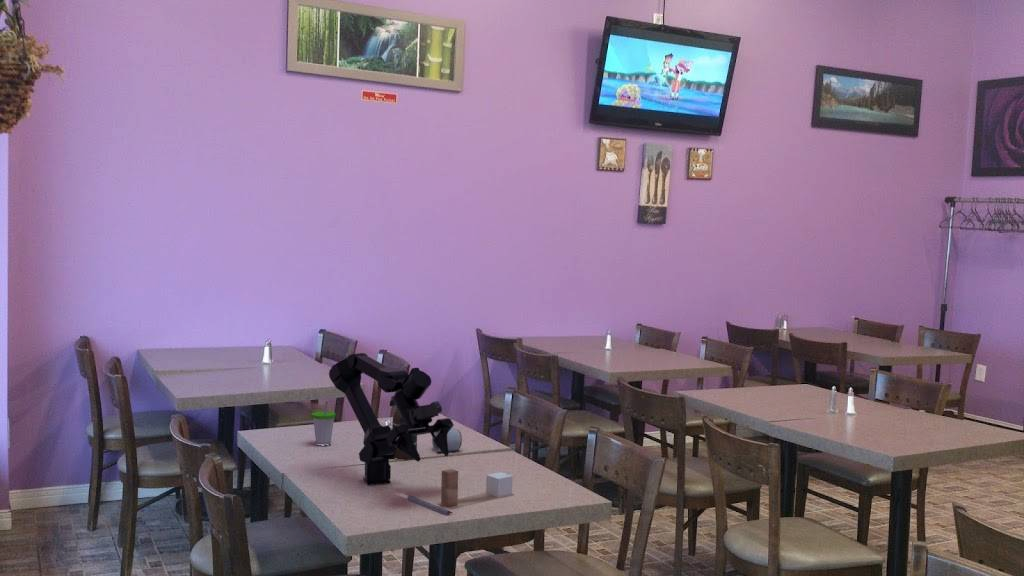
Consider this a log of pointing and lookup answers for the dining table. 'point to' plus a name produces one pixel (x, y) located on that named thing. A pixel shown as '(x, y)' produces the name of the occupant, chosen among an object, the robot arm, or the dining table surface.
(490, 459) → the dining table surface
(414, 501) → the lane rails
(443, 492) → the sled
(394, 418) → the beer bottle
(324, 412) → the cup
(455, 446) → the ceramic mug
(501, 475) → the light blue-gray cube
